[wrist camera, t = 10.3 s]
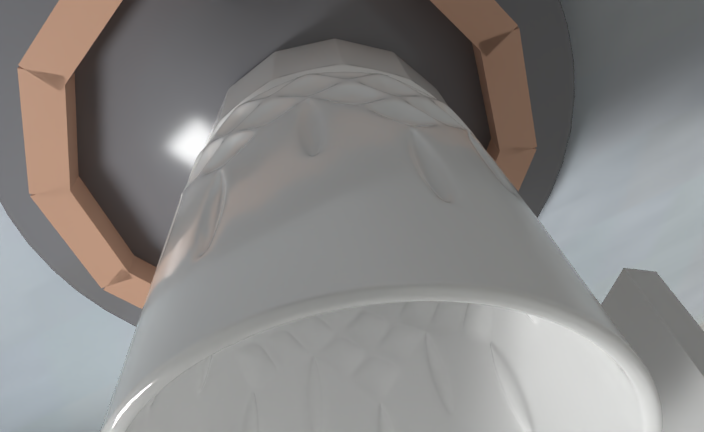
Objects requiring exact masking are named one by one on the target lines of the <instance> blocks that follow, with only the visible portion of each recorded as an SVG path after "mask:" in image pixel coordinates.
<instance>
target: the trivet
mask: <svg viewBox="0 0 704 432" xmlns="http://www.w3.org/2000/svg"><path fill="white" fill-rule="evenodd" d="M333 38H336V39H341V40H345V41H349V42H353V43H358V44H362V45H366V46H371V47H375V48H379V49H383V50H388V51H392V52H394V53H395V54H397V55H398V56H399V57H400V58H401V59H402V60H404V61H405V62H406V63H407V64H408V65H409V66H411V67H412V68H413V69H414V70H415V71H417V72H418V73H419V74H420V75H421V76H422V77H424V78H425V79H426V80H427V81H428V82H430V83H431V84H432V85H433V86H434V87H435V88H436V89H437V90H438V91H439V93H440V94H441V96H442V97H443V99H444V100H445V102H446V103H447V105H448V106H449V107H450V108H451V109H452V110H453V111H454V112H455V113H456V114H457V115H458V116H459V118H460V119H461V120H462V121H463V122H464V123H465V124H466V126H467V127H468V128H469V129H470V130H471V131H472V133H473V134H474V135H475V136H476V138H477V139H478V140H479V141H480V143H481V144H482V146H483V147H484V149H485V150H486V151H487V152H488V153H489V154H490V156H491V157H492V158H493V159H494V160H495V162H496V163H497V164H498V165H499V167H500V168H501V169H502V170H503V172H504V173H505V174H506V176H507V177H508V178H509V180H510V181H511V182H512V184H513V185H514V186H515V188H516V189H517V191H518V192H519V193H520V195H521V196H522V197H523V199H524V200H525V202H526V203H527V204H528V206H529V207H530V209H531V210H532V211H533V213H534V214H535V215H536V217H538V215H539V214H540V212H541V210H542V208H543V206H544V204H545V203H546V201H547V199H548V197H549V195H550V193H551V191H552V188H553V186H554V183H555V181H556V178H557V176H558V173H559V171H560V168H561V166H562V163H563V159H564V155H565V151H566V147H567V143H568V139H569V135H570V131H571V122H572V114H573V105H574V63H573V55H572V50H571V44H570V38H569V32H568V26H567V22H566V19H565V16H564V13H563V10H562V7H561V4H560V1H559V0H0V202H1V204H2V205H3V207H4V209H5V211H6V213H7V215H8V216H9V218H10V219H11V220H12V222H13V223H14V224H15V226H16V227H17V229H18V230H19V231H20V233H21V234H22V236H23V237H24V238H25V240H26V241H27V242H28V244H29V245H30V246H31V247H32V248H33V249H34V250H35V251H36V253H37V254H38V255H39V256H40V257H41V258H42V259H43V260H44V261H45V262H46V263H47V264H48V265H49V267H50V268H51V269H52V270H53V271H55V272H56V273H57V274H58V275H59V276H60V277H62V278H63V279H64V280H65V281H66V282H67V283H69V284H70V285H71V286H72V287H73V288H74V289H76V290H77V291H78V292H80V293H81V294H82V295H84V296H85V297H87V298H88V299H90V300H91V301H93V302H94V303H96V304H97V305H99V306H100V307H101V308H103V309H104V310H106V311H108V312H110V313H112V314H113V315H115V316H117V317H119V318H121V319H123V320H125V321H126V322H128V323H130V324H132V325H134V326H137V323H138V320H139V317H140V314H141V311H142V308H143V306H144V303H145V300H146V297H147V294H148V291H149V288H150V285H151V282H152V279H153V276H154V273H155V270H156V267H157V264H158V261H159V258H160V255H161V252H162V249H163V246H164V243H165V240H166V237H167V234H168V231H169V229H170V226H171V223H172V220H173V217H174V214H175V211H176V209H177V206H178V203H179V201H180V197H181V194H182V192H183V190H184V188H185V186H186V184H187V182H188V179H189V176H190V173H191V170H192V167H193V165H194V162H195V160H196V158H197V156H198V155H199V153H200V152H201V151H202V150H203V149H204V146H205V143H206V140H207V137H208V135H209V132H210V130H211V128H212V125H213V123H214V121H215V118H216V116H217V114H218V112H219V109H220V107H221V105H222V102H223V100H224V98H225V95H226V93H227V91H228V89H229V88H230V87H231V86H232V85H233V84H235V83H236V82H237V81H238V80H240V79H241V78H242V77H243V76H245V75H246V74H247V73H248V72H250V71H251V70H252V69H253V68H255V67H256V66H257V65H258V64H260V63H261V62H262V61H263V60H265V59H266V58H267V57H268V56H270V55H271V54H272V53H273V52H275V51H279V50H284V49H288V48H293V47H297V46H302V45H306V44H311V43H315V42H320V41H324V40H329V39H333Z"/></svg>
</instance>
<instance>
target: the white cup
mask: <svg viewBox="0 0 704 432" xmlns="http://www.w3.org/2000/svg"><path fill="white" fill-rule="evenodd" d="M662 429H663V414H662V406H661V401H660V397H659V393H658V390H657V387H656V385H655V382H654V380H653V378H652V376H651V374H650V372H649V371H648V369H647V367H646V366H645V364H644V363H643V361H642V360H641V358H640V357H639V356H638V354H637V353H636V352H635V350H634V349H633V348H632V346H631V345H630V344H629V342H628V341H627V340H626V338H625V337H624V336H623V334H622V333H621V332H620V330H619V329H618V327H617V326H616V325H615V323H614V322H613V321H612V319H611V318H610V317H609V315H608V314H607V313H606V311H605V310H604V309H603V307H602V306H601V304H600V303H599V302H598V300H597V299H596V298H595V296H594V295H593V294H592V292H591V291H590V290H589V288H588V287H587V285H586V284H585V283H584V281H583V280H582V279H581V277H580V276H579V275H578V273H577V272H576V270H575V269H574V268H573V266H572V265H571V264H570V262H569V261H568V260H567V258H566V257H565V255H564V254H563V253H562V251H561V250H560V249H559V247H558V246H557V244H556V243H555V242H554V240H553V239H552V237H551V236H550V235H549V233H548V232H547V231H546V229H545V228H544V226H543V225H542V224H541V222H540V221H539V220H538V218H537V217H536V215H535V214H534V213H533V211H532V210H531V209H530V207H529V206H528V204H527V203H526V202H525V200H524V199H523V197H522V196H521V195H520V193H519V192H518V191H517V189H516V188H515V186H514V185H513V184H512V182H511V181H510V180H509V178H508V177H507V176H506V174H505V173H504V172H503V170H502V169H501V168H500V167H499V165H498V164H497V163H496V162H495V160H494V159H493V158H492V157H491V156H490V154H489V153H488V152H487V151H486V150H485V149H484V147H483V146H482V144H481V143H480V141H479V140H478V139H477V138H476V136H475V135H474V134H473V133H472V131H471V130H470V129H469V128H468V127H467V126H466V124H465V123H464V122H463V121H462V120H461V119H460V118H459V116H458V115H457V114H456V113H455V112H454V111H453V110H452V109H451V108H450V107H449V106H448V105H447V103H446V102H445V100H444V99H443V97H442V96H441V94H440V93H439V91H438V90H437V89H436V88H435V87H434V86H433V85H432V84H431V83H430V82H428V81H427V80H426V79H425V78H424V77H422V76H421V75H420V74H419V73H418V72H417V71H415V70H414V69H413V68H412V67H411V66H409V65H408V64H407V63H406V62H405V61H404V60H402V59H401V58H400V57H399V56H398V55H397V54H395V53H394V52H392V51H388V50H383V49H379V48H375V47H371V46H366V45H362V44H358V43H353V42H349V41H345V40H341V39H336V38H333V39H329V40H324V41H320V42H315V43H311V44H306V45H302V46H297V47H293V48H288V49H284V50H279V51H275V52H273V53H272V54H271V55H270V56H268V57H267V58H266V59H265V60H263V61H262V62H261V63H260V64H258V65H257V66H256V67H255V68H253V69H252V70H251V71H250V72H248V73H247V74H246V75H245V76H243V77H242V78H241V79H240V80H238V81H237V82H236V83H235V84H233V85H232V86H231V87H230V88H229V89H228V91H227V93H226V95H225V98H224V100H223V102H222V105H221V107H220V109H219V112H218V114H217V116H216V118H215V121H214V123H213V125H212V128H211V130H210V132H209V135H208V137H207V140H206V143H205V146H204V149H203V150H202V151H201V152H200V153H199V155H198V156H197V158H196V160H195V162H194V165H193V167H192V170H191V173H190V176H189V179H188V182H187V184H186V186H185V188H184V190H183V192H182V194H181V197H180V201H179V203H178V206H177V209H176V211H175V214H174V217H173V220H172V223H171V226H170V229H169V231H168V234H167V237H166V240H165V243H164V246H163V249H162V252H161V255H160V258H159V261H158V264H157V267H156V270H155V273H154V276H153V279H152V282H151V285H150V288H149V291H148V294H147V297H146V300H145V303H144V306H143V308H142V311H141V314H140V317H139V320H138V323H137V326H136V329H135V332H134V335H133V338H132V341H131V344H130V347H129V350H128V352H127V355H126V358H125V361H124V364H123V367H122V370H121V373H120V376H119V378H118V381H117V384H116V387H115V390H114V393H113V396H112V399H111V402H110V404H109V407H108V410H107V413H106V416H105V419H104V422H103V424H102V427H101V430H100V432H662Z"/></svg>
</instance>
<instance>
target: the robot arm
mask: <svg viewBox="0 0 704 432" xmlns="http://www.w3.org/2000/svg"><path fill="white" fill-rule="evenodd" d="M601 306H602V307H603V309H604V310H605V311H606V313H607V314H608V315H609V317H610V318H611V319H612V321H613V322H614V323H615V325H616V326H617V327H618V329H619V330H620V332H621V333H622V334H623V336H624V337H625V338H626V340H627V341H628V342H629V344H630V345H631V346H632V348H633V349H634V350H635V352H636V353H637V354H638V356H639V357H640V358H641V360H642V361H643V363H644V364H645V366H646V367H647V369H648V371H649V372H650V374H651V376H652V378H653V380H654V382H655V385H656V387H657V390H658V393H659V397H660V401H661V406H662V414H663V429H662V432H704V331H703V330H702V329H701V327H700V326H699V325H698V324H697V322H696V321H695V320H694V319H693V317H692V316H691V315H690V314H689V312H688V311H687V310H686V309H685V307H684V306H683V305H682V304H681V302H680V301H679V300H678V299H677V297H676V296H675V295H674V294H673V292H672V291H671V290H670V289H669V287H668V286H667V285H666V284H665V282H664V281H663V280H662V279H661V277H660V276H659V275H658V274H657V272H654V271H645V270H637V269H628V268H623V270H622V272H621V273H620V275H619V277H618V278H617V280H616V282H615V283H614V285H613V286H612V288H611V290H610V291H609V293H608V295H607V296H606V298H605V299H604V301H603V303H602V304H601Z"/></svg>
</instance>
